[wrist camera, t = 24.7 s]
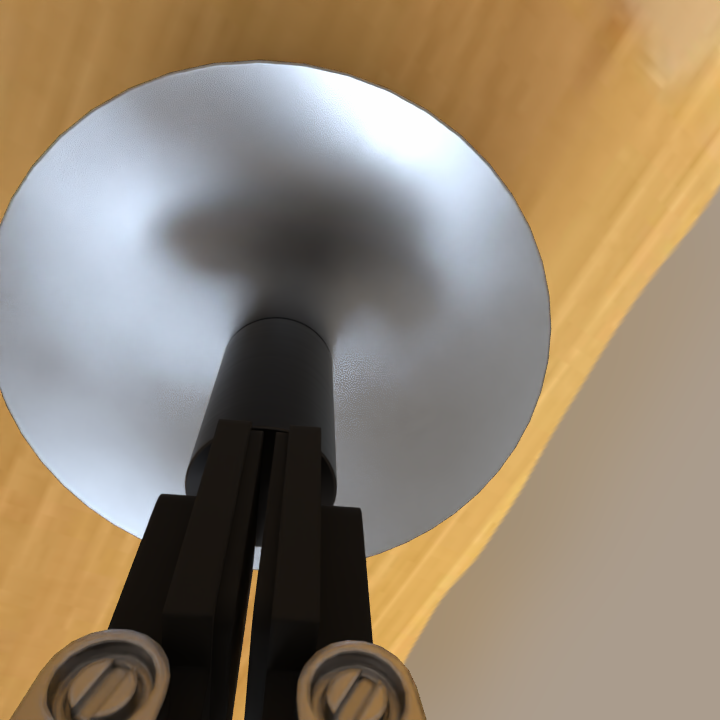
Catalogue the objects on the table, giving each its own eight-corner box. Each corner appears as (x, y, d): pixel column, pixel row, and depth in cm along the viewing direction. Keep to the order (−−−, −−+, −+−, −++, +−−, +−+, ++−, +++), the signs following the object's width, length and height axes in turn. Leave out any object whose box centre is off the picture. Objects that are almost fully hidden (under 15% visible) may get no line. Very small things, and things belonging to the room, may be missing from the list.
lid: (-32, 12, 12) (-295, -19, 7) (605, 107, 13) (780, 140, 8) (34, 530, 18) (-80, 721, 13) (475, 556, 19) (530, 738, 14)
